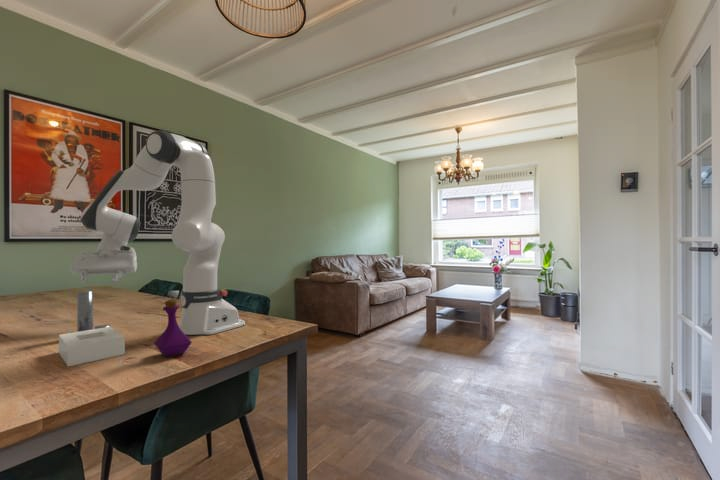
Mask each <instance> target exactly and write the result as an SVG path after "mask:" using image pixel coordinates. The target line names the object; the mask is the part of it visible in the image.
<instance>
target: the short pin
mask: <svg viewBox="0 0 720 480" xmlns="http://www.w3.org/2000/svg"><path fill="white" fill-rule="evenodd" d="M105 327H112V326H111V324H102V325H101V324H100V325H97V326H95V327H94V329H99V328H105Z"/></svg>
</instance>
